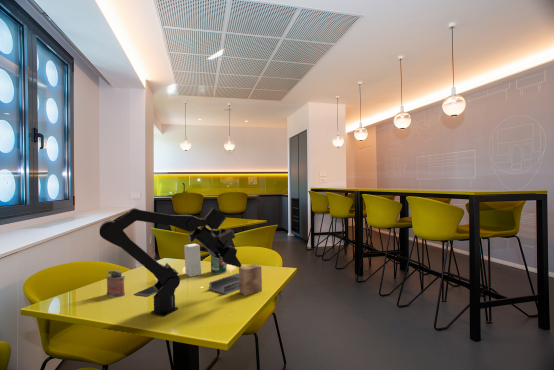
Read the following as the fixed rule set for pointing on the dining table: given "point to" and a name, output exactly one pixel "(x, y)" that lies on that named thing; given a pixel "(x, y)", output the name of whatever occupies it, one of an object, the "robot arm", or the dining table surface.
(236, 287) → the door track
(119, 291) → the lighter
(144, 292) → the cell phone
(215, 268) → the canned tomato
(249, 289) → the brown wooden block
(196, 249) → the skincare box
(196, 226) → the robot arm
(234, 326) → the dining table surface
